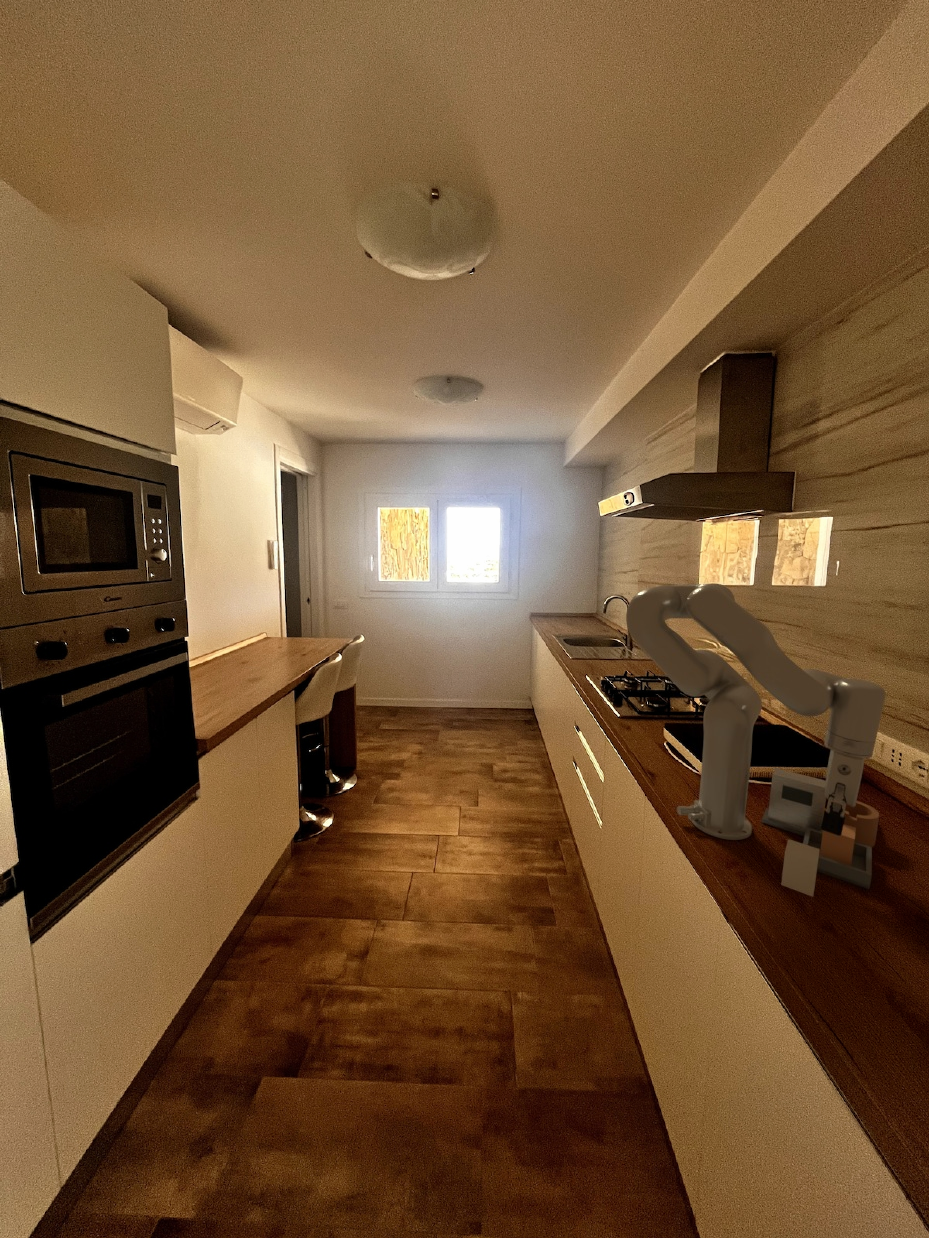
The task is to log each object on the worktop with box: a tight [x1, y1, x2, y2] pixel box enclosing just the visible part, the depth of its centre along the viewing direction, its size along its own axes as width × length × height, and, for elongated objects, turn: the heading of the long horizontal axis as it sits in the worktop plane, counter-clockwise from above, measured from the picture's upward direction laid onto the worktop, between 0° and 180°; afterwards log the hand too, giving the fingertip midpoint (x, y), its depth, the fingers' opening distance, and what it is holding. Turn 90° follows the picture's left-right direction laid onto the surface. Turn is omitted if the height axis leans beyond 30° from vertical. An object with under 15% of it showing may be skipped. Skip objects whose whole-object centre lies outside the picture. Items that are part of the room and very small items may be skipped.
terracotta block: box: [820, 824, 856, 866], centre depth 99 cm, size 5×5×7 cm
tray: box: [802, 828, 873, 890], centre depth 100 cm, size 11×11×3 cm
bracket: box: [824, 800, 880, 848], centre depth 112 cm, size 18×8×7 cm, turn 147°
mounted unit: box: [761, 767, 827, 837], centre depth 111 cm, size 12×6×12 cm, turn 51°
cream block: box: [781, 839, 820, 897], centre depth 93 cm, size 5×5×7 cm
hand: (832, 821), depth 99 cm, fingers open, 9 cm apart
